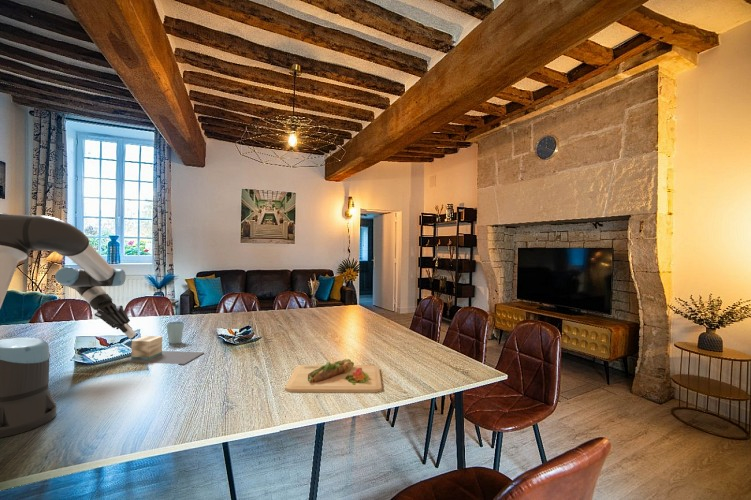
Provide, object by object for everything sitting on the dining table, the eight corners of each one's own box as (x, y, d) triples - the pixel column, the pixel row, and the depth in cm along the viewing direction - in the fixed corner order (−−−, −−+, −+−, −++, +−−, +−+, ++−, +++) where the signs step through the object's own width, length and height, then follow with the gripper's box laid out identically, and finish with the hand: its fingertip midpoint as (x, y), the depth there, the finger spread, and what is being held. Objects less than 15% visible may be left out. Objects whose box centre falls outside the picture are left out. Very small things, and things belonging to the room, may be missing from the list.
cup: (163, 345, 161) (163, 324, 161) (170, 340, 169) (171, 321, 169) (179, 345, 162) (179, 324, 162) (186, 340, 170) (186, 321, 170)
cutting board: (378, 369, 137) (379, 352, 137) (381, 394, 114) (382, 373, 114) (297, 368, 136) (297, 351, 136) (283, 393, 112) (283, 372, 112)
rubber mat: (204, 353, 150) (204, 352, 150) (183, 365, 135) (184, 363, 135) (146, 351, 151) (146, 350, 151) (120, 362, 136) (120, 361, 136)
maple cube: (161, 353, 147) (162, 336, 147) (149, 359, 139) (149, 341, 139) (145, 353, 148) (145, 335, 148) (131, 359, 140) (131, 340, 140)
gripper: (104, 301, 151) (138, 337, 151) (78, 306, 138) (115, 346, 138) (115, 290, 151) (149, 326, 151) (90, 295, 138) (127, 334, 138)
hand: (132, 336), depth 144 cm, fingers closed
